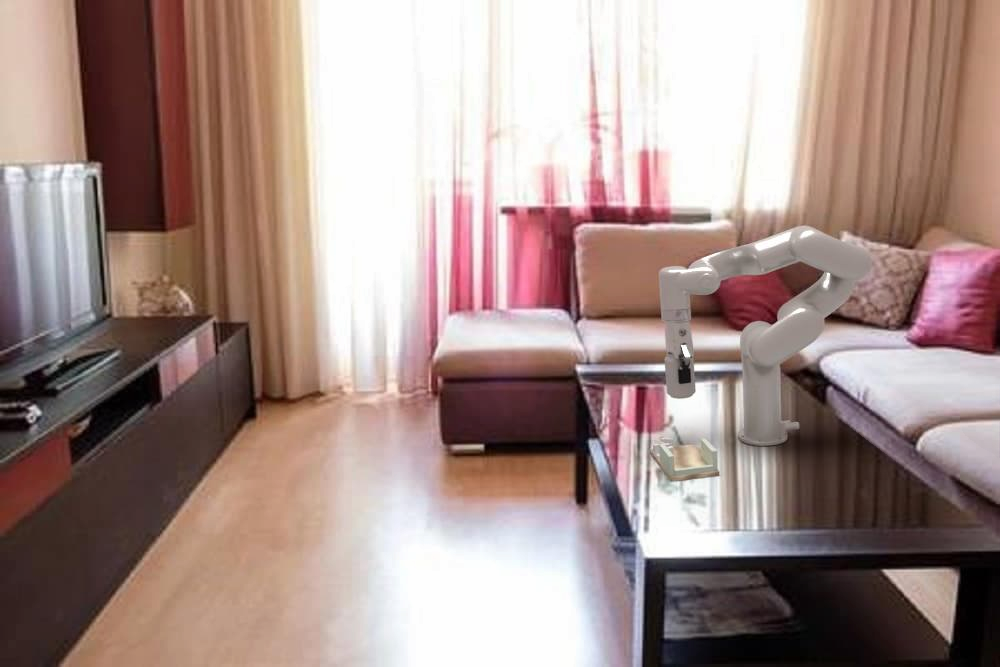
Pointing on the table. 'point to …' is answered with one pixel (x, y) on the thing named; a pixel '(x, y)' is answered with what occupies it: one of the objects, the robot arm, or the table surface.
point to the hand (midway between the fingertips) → (680, 378)
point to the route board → (686, 462)
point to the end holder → (706, 454)
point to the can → (672, 378)
